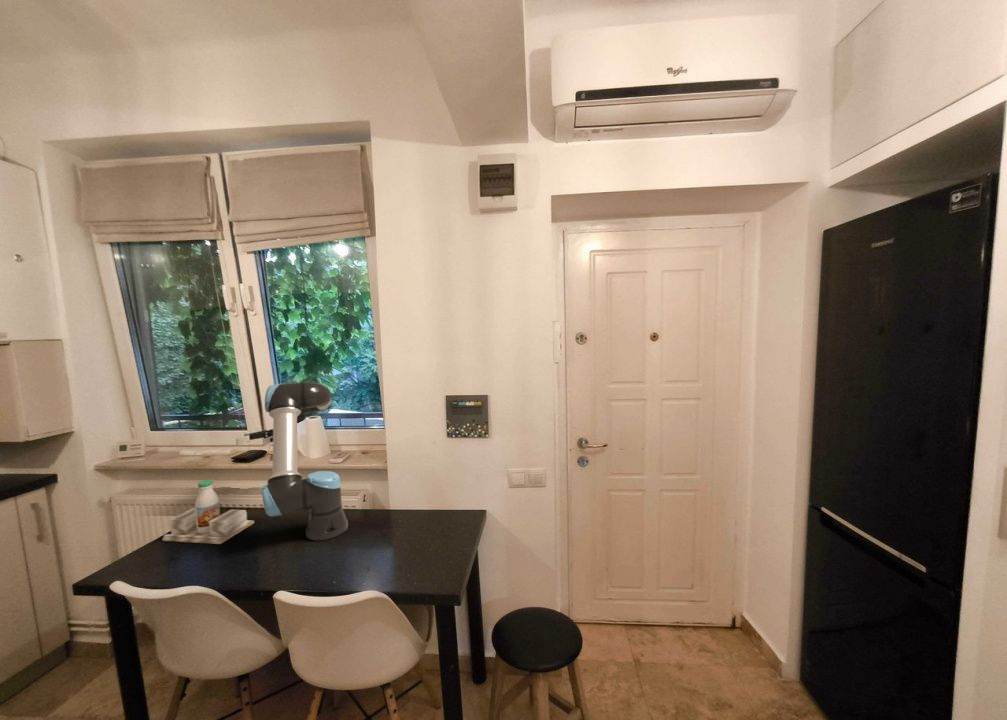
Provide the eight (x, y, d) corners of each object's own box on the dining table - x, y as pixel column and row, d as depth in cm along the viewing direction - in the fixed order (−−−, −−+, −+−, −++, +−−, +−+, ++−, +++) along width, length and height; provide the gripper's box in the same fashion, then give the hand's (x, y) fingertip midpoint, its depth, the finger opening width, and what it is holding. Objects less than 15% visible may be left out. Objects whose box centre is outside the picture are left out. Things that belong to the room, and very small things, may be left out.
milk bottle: (192, 533, 149) (187, 485, 147) (210, 524, 156) (206, 477, 155) (208, 535, 147) (204, 485, 146) (226, 525, 155) (222, 478, 154)
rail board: (254, 522, 158) (252, 506, 158) (220, 544, 142) (218, 526, 142) (201, 520, 162) (199, 504, 162) (162, 540, 146) (160, 523, 146)
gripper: (307, 437, 186) (275, 450, 165) (263, 437, 190) (226, 450, 169) (306, 422, 185) (274, 434, 164) (262, 422, 189) (225, 433, 168)
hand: (250, 442), depth 167 cm, fingers open, 13 cm apart
